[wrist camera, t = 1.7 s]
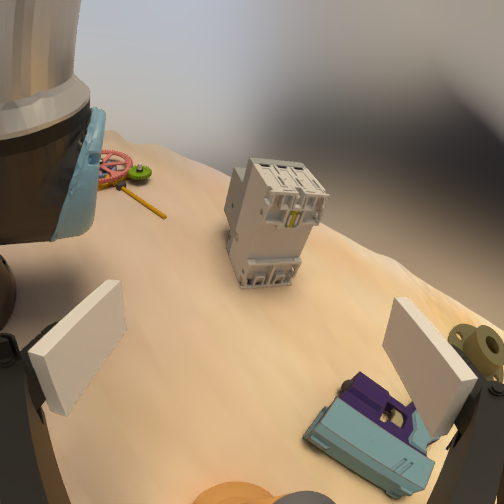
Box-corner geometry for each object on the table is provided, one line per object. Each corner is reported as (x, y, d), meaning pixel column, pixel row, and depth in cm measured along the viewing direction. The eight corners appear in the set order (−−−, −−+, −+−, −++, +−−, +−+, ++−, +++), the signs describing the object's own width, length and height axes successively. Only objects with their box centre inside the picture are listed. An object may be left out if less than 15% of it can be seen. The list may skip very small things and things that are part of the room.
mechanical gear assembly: (101, 147, 63) (46, 171, 53) (101, 131, 60) (43, 153, 50) (196, 203, 55) (130, 242, 44) (198, 183, 52) (129, 220, 42)
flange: (477, 299, 46) (451, 333, 38) (523, 353, 38) (506, 399, 30) (462, 315, 49) (433, 350, 41) (506, 367, 41) (485, 413, 33)
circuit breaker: (259, 222, 54) (284, 143, 45) (290, 285, 45) (331, 196, 35) (217, 222, 51) (236, 138, 42) (240, 289, 42) (272, 192, 32)
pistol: (438, 414, 33) (401, 506, 22) (356, 355, 38) (297, 441, 28) (458, 400, 30) (426, 500, 20) (372, 338, 36) (314, 430, 25)
